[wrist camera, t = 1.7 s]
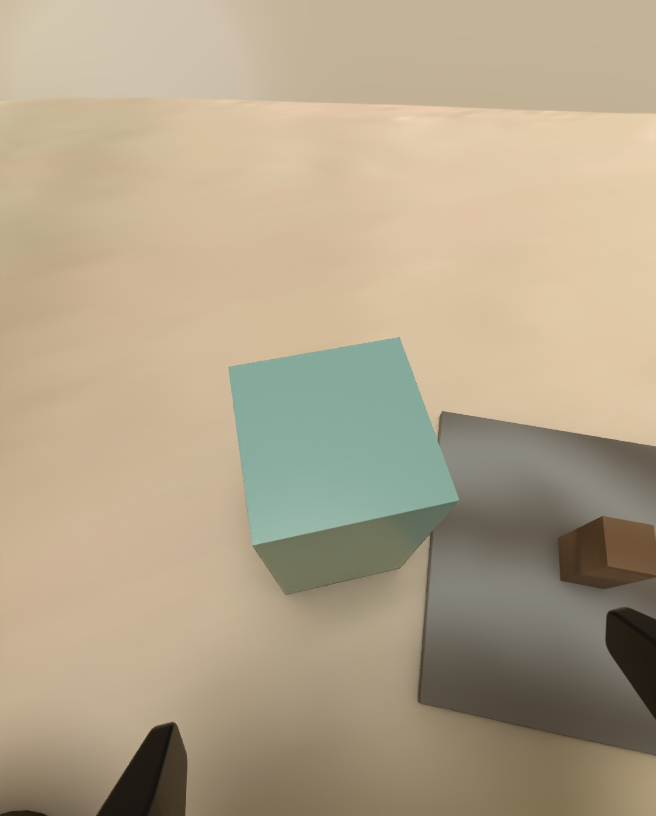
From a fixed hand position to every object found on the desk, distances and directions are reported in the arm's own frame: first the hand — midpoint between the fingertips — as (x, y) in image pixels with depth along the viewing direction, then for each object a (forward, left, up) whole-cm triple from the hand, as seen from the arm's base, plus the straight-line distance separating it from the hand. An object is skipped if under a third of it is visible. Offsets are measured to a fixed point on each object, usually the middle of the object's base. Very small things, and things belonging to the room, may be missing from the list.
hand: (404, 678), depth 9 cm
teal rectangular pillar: (+6, +2, -12) cm, 14 cm away
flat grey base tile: (+5, -10, -12) cm, 17 cm away
